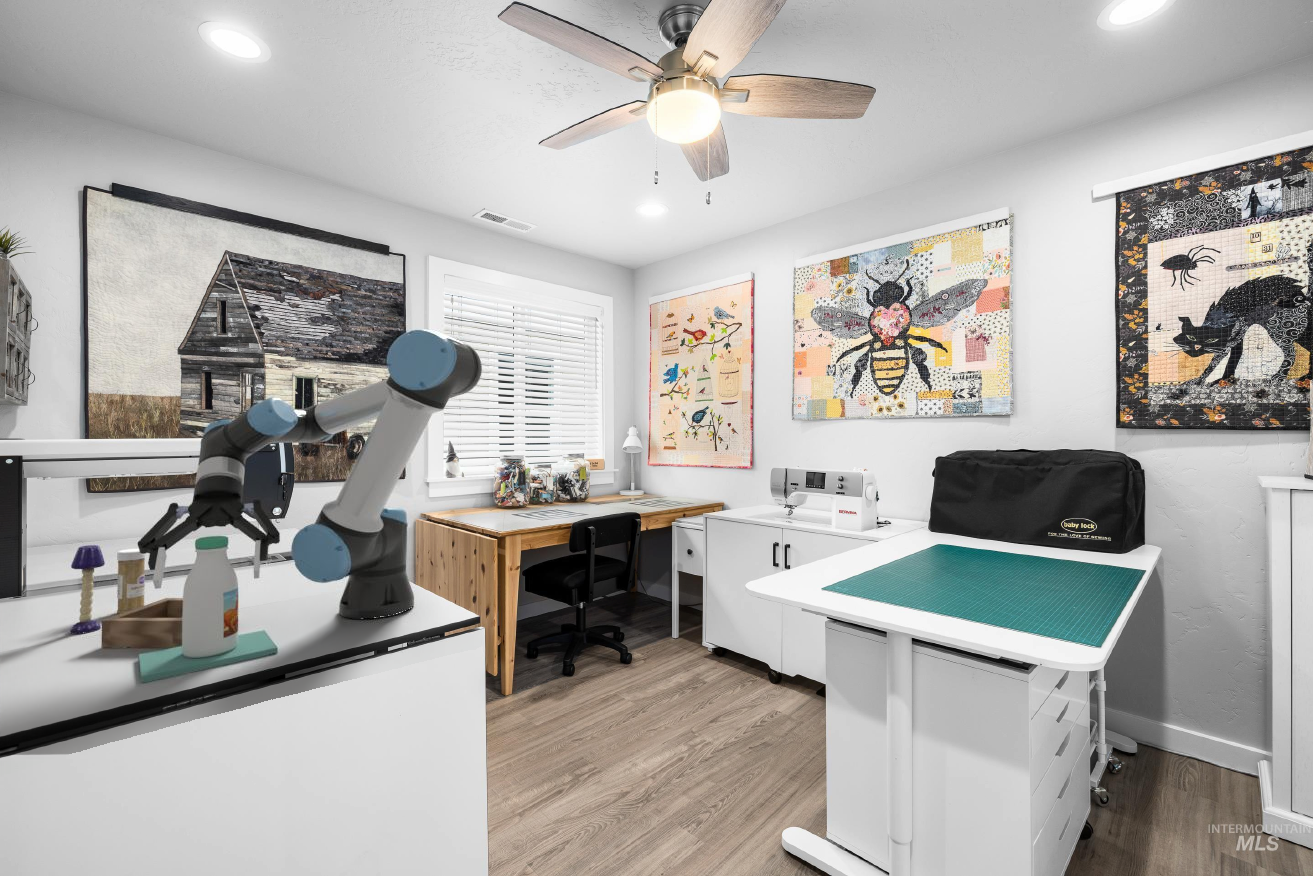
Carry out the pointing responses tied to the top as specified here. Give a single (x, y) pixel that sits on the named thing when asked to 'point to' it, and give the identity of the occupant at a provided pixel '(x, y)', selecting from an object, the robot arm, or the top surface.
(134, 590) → the sprinkles bottle
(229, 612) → the milk bottle
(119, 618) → the walnut holder
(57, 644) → the top surface
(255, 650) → the green mat
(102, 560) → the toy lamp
